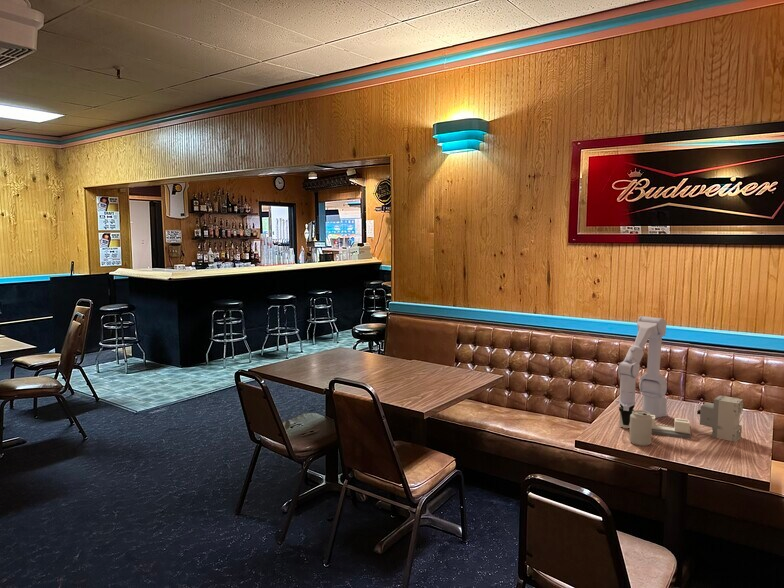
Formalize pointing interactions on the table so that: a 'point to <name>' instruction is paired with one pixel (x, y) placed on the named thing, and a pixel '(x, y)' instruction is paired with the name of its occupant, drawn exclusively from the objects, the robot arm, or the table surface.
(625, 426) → the block
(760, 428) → the table surface
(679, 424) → the rail plate
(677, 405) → the table surface
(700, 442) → the table surface
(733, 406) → the circuit breaker
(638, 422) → the can
